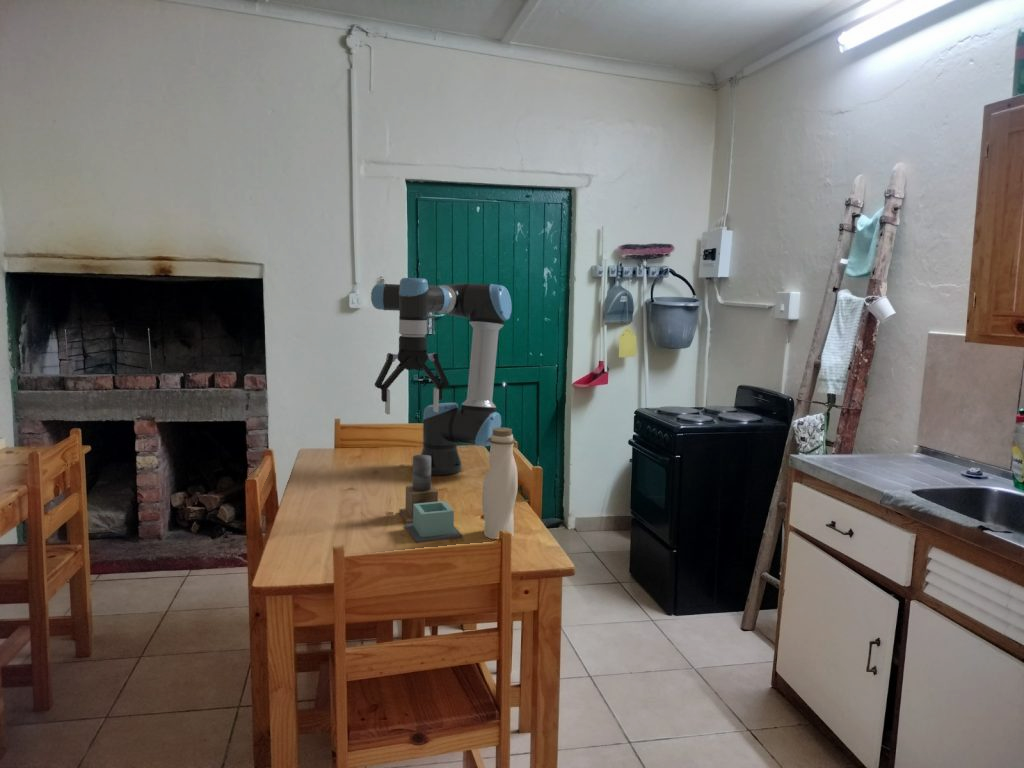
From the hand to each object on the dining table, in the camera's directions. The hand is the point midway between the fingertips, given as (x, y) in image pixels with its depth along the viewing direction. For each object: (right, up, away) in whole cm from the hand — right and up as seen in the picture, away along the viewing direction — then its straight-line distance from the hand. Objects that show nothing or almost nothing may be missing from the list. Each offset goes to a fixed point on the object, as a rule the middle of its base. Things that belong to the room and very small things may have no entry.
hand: (412, 412), depth 187 cm
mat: (+7, -31, -10) cm, 33 cm away
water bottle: (+24, -31, -9) cm, 41 cm away
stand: (+2, -29, +1) cm, 29 cm away
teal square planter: (+7, -30, -10) cm, 32 cm away
